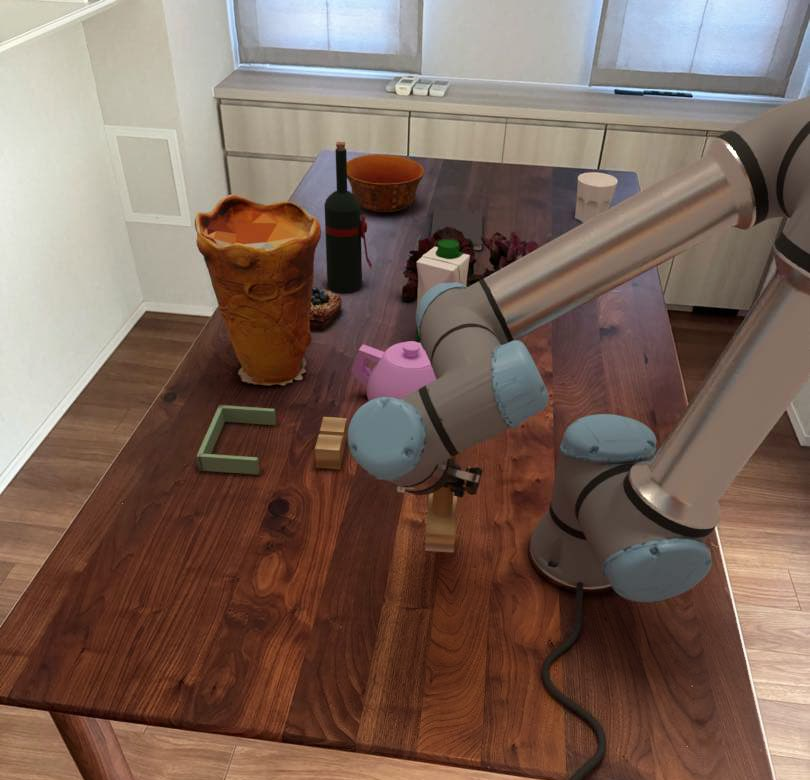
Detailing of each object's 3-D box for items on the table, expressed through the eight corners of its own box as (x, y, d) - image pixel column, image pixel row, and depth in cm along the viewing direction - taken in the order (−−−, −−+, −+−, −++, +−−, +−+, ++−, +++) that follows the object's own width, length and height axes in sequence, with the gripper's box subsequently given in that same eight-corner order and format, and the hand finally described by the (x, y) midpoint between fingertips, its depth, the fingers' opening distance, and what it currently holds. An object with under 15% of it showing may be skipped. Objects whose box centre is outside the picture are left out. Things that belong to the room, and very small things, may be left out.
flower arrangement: (398, 310, 170) (399, 241, 160) (410, 270, 185) (412, 205, 174) (544, 323, 168) (554, 254, 158) (545, 281, 182) (555, 216, 172)
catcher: (258, 474, 129) (256, 460, 127) (199, 470, 130) (196, 456, 127) (276, 422, 140) (274, 408, 138) (221, 419, 140) (219, 404, 138)
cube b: (344, 451, 134) (343, 432, 131) (320, 449, 134) (319, 430, 132) (347, 437, 137) (346, 418, 134) (324, 435, 137) (323, 416, 134)
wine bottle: (370, 295, 175) (369, 151, 154) (324, 292, 176) (317, 148, 155) (374, 279, 181) (374, 138, 160) (329, 276, 181) (324, 135, 160)
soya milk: (466, 339, 162) (475, 243, 148) (447, 359, 156) (454, 262, 143) (428, 328, 165) (433, 233, 151) (408, 348, 159) (411, 251, 145)
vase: (201, 397, 145) (171, 235, 124) (233, 341, 159) (211, 188, 138) (314, 408, 143) (303, 246, 122) (336, 351, 158) (330, 197, 137)
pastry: (276, 325, 164) (274, 299, 160) (299, 299, 173) (297, 274, 169) (326, 334, 162) (325, 308, 158) (346, 308, 171) (345, 282, 167)
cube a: (340, 469, 131) (339, 450, 128) (316, 468, 131) (314, 448, 128) (343, 454, 133) (342, 435, 131) (319, 453, 134) (318, 433, 131)
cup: (569, 222, 207) (575, 183, 200) (574, 208, 214) (580, 170, 207) (607, 228, 205) (615, 188, 198) (611, 213, 212) (619, 175, 205)
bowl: (437, 202, 215) (439, 164, 208) (395, 229, 201) (396, 188, 195) (373, 186, 222) (373, 148, 215) (328, 210, 209) (327, 170, 202)
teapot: (339, 417, 141) (337, 358, 133) (364, 372, 152) (363, 315, 144) (460, 437, 138) (466, 377, 129) (476, 390, 149) (482, 332, 140)
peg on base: (453, 552, 109) (460, 471, 99) (424, 550, 109) (428, 469, 99) (456, 504, 116) (462, 424, 106) (429, 503, 116) (432, 423, 106)
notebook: (433, 214, 209) (429, 248, 194) (433, 208, 208) (430, 242, 192) (481, 216, 209) (481, 251, 193) (482, 210, 207) (482, 244, 192)
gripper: (342, 475, 91) (391, 496, 114) (475, 507, 87) (499, 523, 110) (358, 411, 91) (404, 446, 114) (492, 441, 87) (512, 470, 110)
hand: (451, 484), depth 112 cm, fingers closed on peg on base, 3 cm apart
